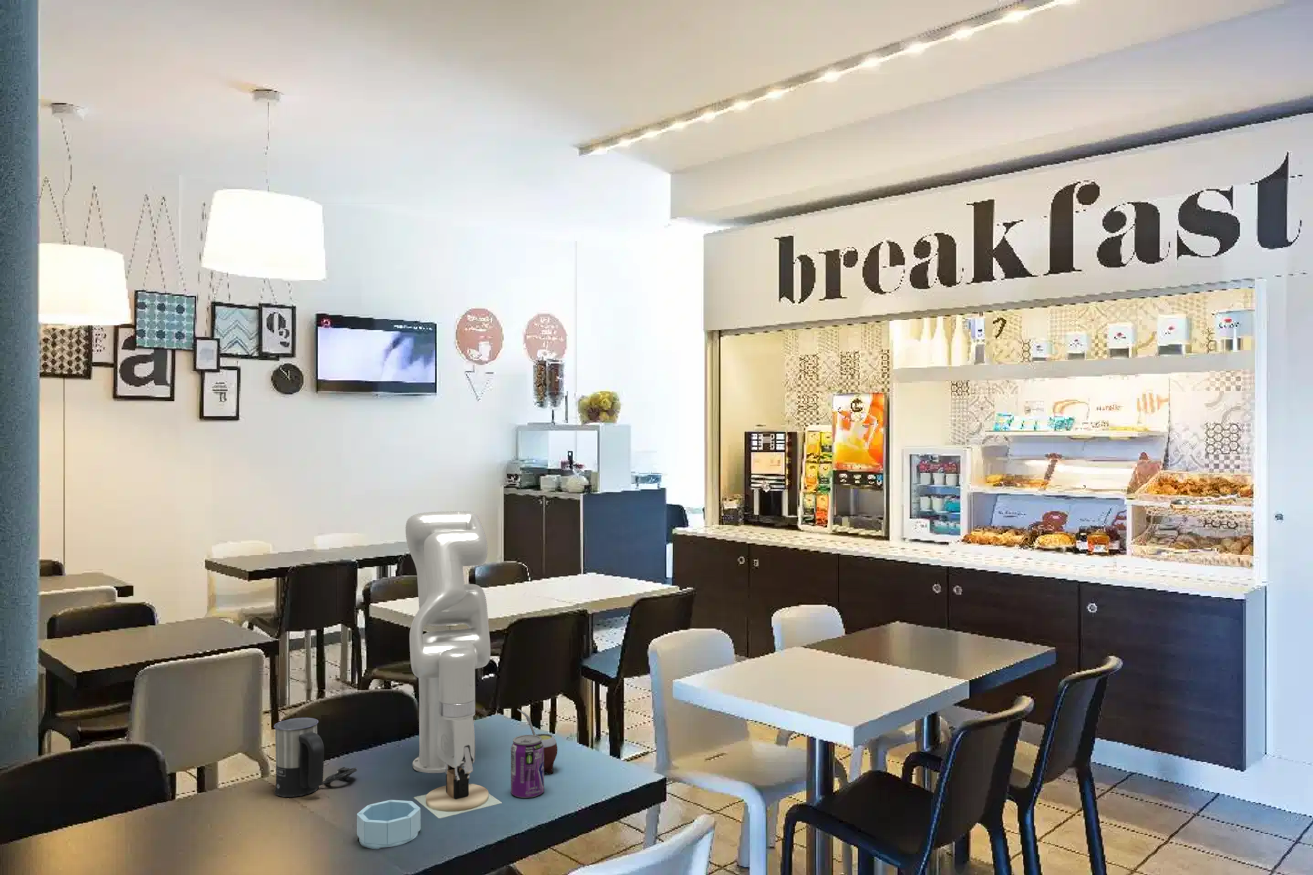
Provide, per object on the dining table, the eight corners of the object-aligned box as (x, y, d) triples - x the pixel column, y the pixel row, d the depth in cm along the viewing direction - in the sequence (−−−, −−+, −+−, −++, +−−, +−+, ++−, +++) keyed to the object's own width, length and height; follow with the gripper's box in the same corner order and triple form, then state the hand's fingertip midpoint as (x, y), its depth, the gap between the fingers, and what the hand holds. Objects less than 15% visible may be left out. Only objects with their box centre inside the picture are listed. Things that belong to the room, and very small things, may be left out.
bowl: (351, 834, 183) (351, 808, 183) (406, 820, 190) (406, 796, 190) (370, 854, 174) (370, 827, 174) (427, 839, 181) (426, 813, 181)
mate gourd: (563, 769, 219) (563, 705, 219) (541, 779, 213) (541, 713, 213) (538, 763, 223) (538, 700, 223) (516, 773, 217) (516, 708, 217)
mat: (413, 799, 201) (413, 797, 201) (474, 785, 209) (474, 783, 209) (439, 820, 190) (439, 818, 190) (502, 804, 198) (502, 802, 198)
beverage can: (537, 801, 199) (537, 745, 200) (506, 799, 201) (505, 743, 201) (548, 789, 206) (548, 734, 207) (517, 787, 208) (517, 733, 208)
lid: (416, 796, 201) (416, 768, 201) (472, 783, 209) (472, 756, 209) (440, 816, 191) (440, 786, 191) (498, 801, 198) (498, 773, 198)
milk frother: (264, 794, 205) (264, 726, 205) (316, 771, 219) (316, 707, 219) (315, 803, 199) (315, 733, 199) (365, 779, 214) (365, 713, 214)
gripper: (425, 702, 204) (425, 786, 204) (456, 720, 191) (456, 811, 191) (457, 696, 209) (458, 779, 209) (490, 714, 195) (490, 802, 195)
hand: (457, 793), depth 200 cm, fingers closed on lid, 3 cm apart
